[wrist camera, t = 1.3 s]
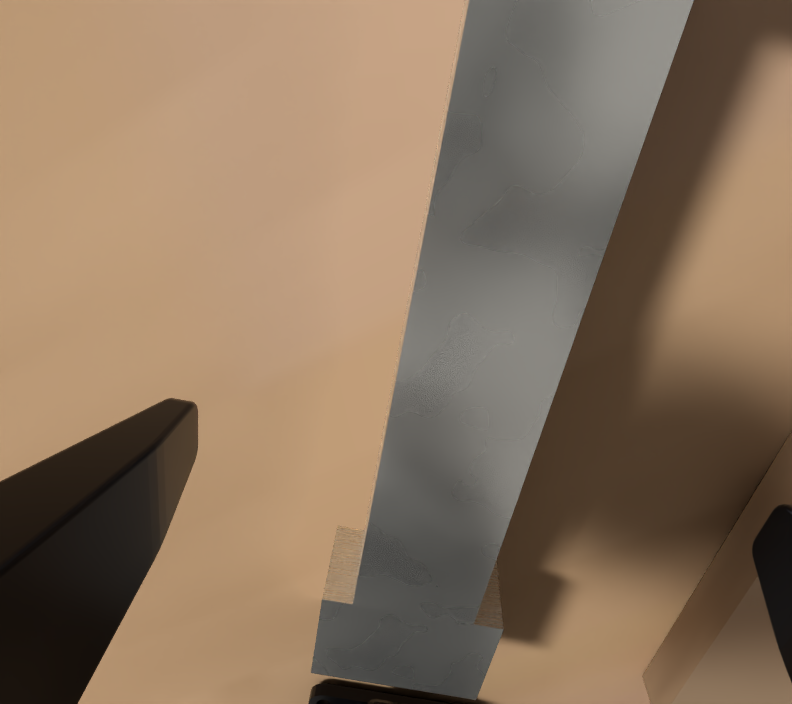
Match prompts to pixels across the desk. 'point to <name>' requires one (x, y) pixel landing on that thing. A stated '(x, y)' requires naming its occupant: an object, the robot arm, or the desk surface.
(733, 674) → the peg board
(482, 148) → the grey i-beam piece
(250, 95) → the desk surface
